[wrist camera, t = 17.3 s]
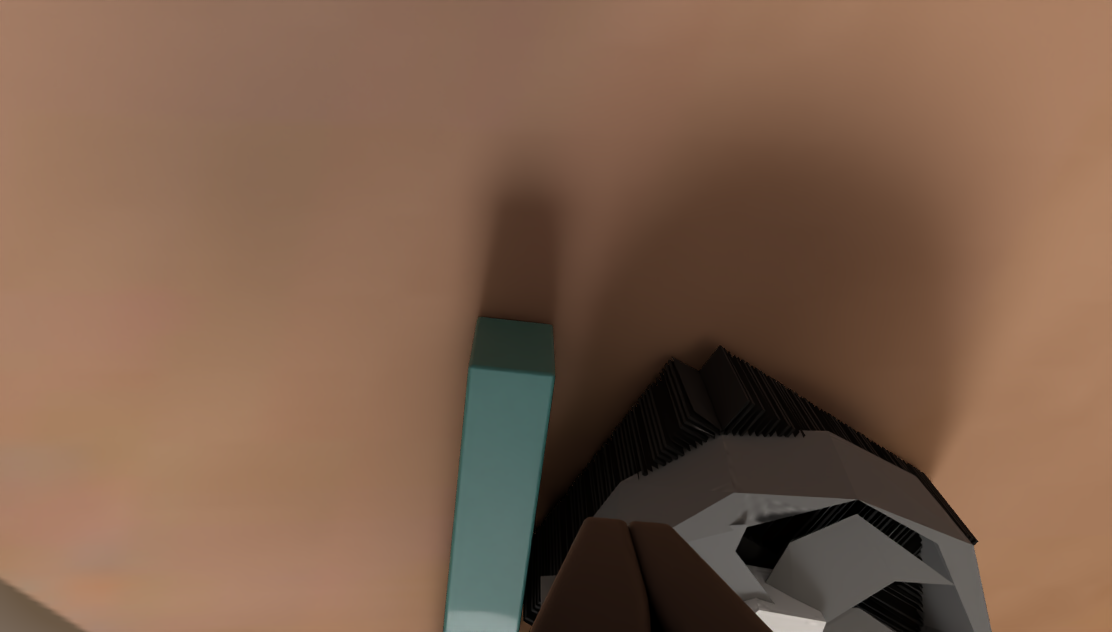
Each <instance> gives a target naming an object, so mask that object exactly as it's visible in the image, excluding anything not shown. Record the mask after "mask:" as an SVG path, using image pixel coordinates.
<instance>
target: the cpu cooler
mask: <svg viewBox="0 0 1112 632" xmlns="http://www.w3.org/2000/svg"><path fill="white" fill-rule="evenodd" d="M672 359H673V361H672V360H670V359H669V360H668V363H669V365H668V364H667V363H666V364H665V368H666V371H665V370H664V369H662V370H663V373H664V375H663V374H661V373H660V372H659V373H660V376H661V380H662V381H661V380H659V379H658V378H656V377H655V378H656V381H657V384H658V386H657V385H655V384H653V383H652V386H653V387H652V386H651V385H649V386H648V389H649V390H648V389H646V390H645V394H646V395H645V394H644V393H643V394H642V395H641V396H642V398H639V399H638V401H639V404H638V403H636V405H637V407H635V406H634V405H633V407H632V410H633V411H631V410H629V415H628V414H626V416H625V417H626V419H624V418H623V419H622V423H621V422H620V423H619V427H616V428H615V429H616V431H613V432H612V433H613V436H612V435H611V440H612V441H611V440H610V439H608V444H609V445H608V444H606V443H604V444H603V447H602V446H601V447H602V452H600V451H598V452H597V455H596V454H595V455H594V461H595V462H593V461H591V463H590V462H589V463H588V468H586V467H585V470H586V471H584V470H583V475H584V476H583V475H581V474H580V475H579V478H576V482H573V486H570V487H569V489H570V491H569V490H568V495H567V494H565V499H564V498H562V502H561V501H559V502H558V505H555V509H554V508H553V509H552V513H551V512H550V513H549V516H547V517H546V521H545V520H544V525H542V524H541V528H540V527H538V528H537V531H536V534H535V535H534V534H533V538H532V545H531V552H530V559H529V566H528V573H527V580H526V587H525V594H524V601H523V621H525V622H526V623H528V624H530V625H531V626H532V625H533V623H534V621H535V619H536V617H537V615H538V613H539V611H540V609H541V607H542V605H543V603H544V601H545V599H546V597H547V595H548V593H549V591H550V588H551V586H552V584H553V582H554V580H555V578H556V576H557V574H558V572H559V570H560V568H561V566H562V564H563V562H564V560H565V558H566V556H567V554H568V552H569V550H570V548H571V546H572V544H573V542H574V540H575V538H576V536H577V534H578V532H579V530H580V527H581V525H582V523H583V522H584V520H585V519H586V518H588V517H600V518H610V519H620V520H623V521H624V522H626V524H627V525H628V524H629V523H630V522H632V521H642V522H653V523H664V524H668V525H670V526H671V527H672V528H673V529H674V530H675V531H676V532H677V533H678V534H679V535H680V536H681V537H682V538H683V539H684V540H685V541H686V542H687V543H688V544H689V545H690V546H691V547H692V548H693V549H694V550H695V551H696V552H697V553H698V554H699V555H700V556H701V558H702V559H703V560H704V561H705V562H706V563H707V564H708V565H709V566H710V567H711V568H712V569H713V570H714V571H715V572H716V573H717V574H718V575H719V576H720V577H721V578H722V579H723V580H724V581H725V582H726V583H727V584H728V585H729V586H730V588H731V589H732V590H733V591H734V592H735V593H736V594H737V595H738V596H739V597H740V598H741V599H742V600H743V601H744V602H745V603H746V604H747V605H748V606H749V607H750V608H751V609H752V610H753V611H754V612H755V613H756V614H757V615H758V616H759V617H760V619H761V620H762V621H763V622H764V623H765V624H766V625H767V626H768V627H769V628H770V629H771V630H772V631H773V632H992V631H991V626H990V622H989V617H988V612H987V607H986V602H985V598H984V593H983V588H982V583H981V579H980V574H979V569H978V564H977V559H976V555H975V550H974V545H975V544H976V543H977V542H978V541H977V539H976V538H975V537H974V536H973V534H972V533H971V532H970V530H969V529H968V528H967V527H966V525H965V524H964V523H963V522H962V520H961V519H960V518H959V517H958V515H957V514H956V513H955V512H954V510H953V509H952V508H951V507H950V505H949V504H948V503H947V502H946V500H945V499H944V498H943V496H942V495H941V494H940V493H939V491H938V490H937V489H936V488H935V486H934V485H933V484H932V483H931V481H930V480H929V479H928V478H927V476H926V475H925V474H924V473H923V472H921V471H920V470H917V469H916V468H915V467H913V466H912V465H909V464H906V463H905V462H904V460H903V461H902V460H901V459H900V458H899V457H897V456H896V455H893V453H891V452H890V453H889V452H888V450H887V451H886V450H885V448H883V447H882V448H881V447H880V446H879V445H876V443H875V442H873V441H871V442H870V441H869V439H868V438H866V437H865V436H864V435H861V434H860V433H859V432H857V433H856V431H855V430H854V429H852V428H851V427H850V426H849V427H848V425H847V424H843V423H842V421H841V423H840V421H839V420H837V419H836V418H835V417H834V416H833V417H832V416H831V414H829V413H828V414H827V413H826V412H825V411H824V412H823V410H822V409H821V410H819V409H818V407H817V406H815V407H814V405H813V404H812V403H810V401H809V402H807V400H806V399H805V398H802V396H801V397H799V396H798V394H797V393H794V392H793V391H792V390H791V389H790V390H789V389H788V388H787V389H786V388H785V386H784V385H783V384H781V385H780V383H779V382H778V381H777V382H776V380H775V379H772V378H771V377H770V376H768V377H766V375H765V373H764V374H763V373H762V371H760V370H758V369H757V368H756V367H755V369H754V368H753V366H750V365H749V363H748V362H746V363H745V361H744V360H743V359H741V361H740V359H739V357H736V356H735V355H734V356H733V357H732V355H731V354H730V352H728V353H727V352H726V350H725V348H724V349H723V347H722V346H719V347H718V348H717V349H716V351H715V352H714V353H713V354H712V356H711V357H710V358H709V360H708V361H707V362H706V363H705V365H704V366H703V367H702V369H701V370H700V371H697V370H696V369H694V368H692V367H690V366H688V365H686V364H684V363H683V362H681V361H679V360H677V359H675V358H673V357H672Z"/></svg>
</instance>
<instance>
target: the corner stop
mask: <svg viewBox="0 0 1112 632" xmlns="http://www.w3.org/2000/svg"><path fill="white" fill-rule="evenodd" d="M554 383H555V357H554V336H553V326H552V325H550V324H542V323H533V322H524V321H515V320H505V319H496V318H487V317H478V319H477V322H476V327H475V333H474V339H473V344H472V350H471V355H470V361H469V367H468V377H467V387H466V397H465V408H464V418H463V428H462V439H461V449H460V460H459V470H458V480H457V491H456V501H455V512H454V522H453V532H452V543H451V553H450V563H449V574H448V584H447V595H446V605H445V615H444V626H443V632H519V629H520V622H521V615H522V608H523V601H524V594H525V587H526V580H527V573H528V566H529V559H530V552H531V545H532V538H533V531H534V524H535V517H536V509H537V502H538V495H539V488H540V481H541V474H542V467H543V460H544V453H545V446H546V439H547V432H548V425H549V418H550V411H551V404H552V397H553V390H554Z"/></svg>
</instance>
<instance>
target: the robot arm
mask: <svg viewBox="0 0 1112 632" xmlns="http://www.w3.org/2000/svg"><path fill="white" fill-rule="evenodd" d="M529 632H773V631H772V630H771V629H770V628H769V627H768V626H767V625H766V624H765V623H764V622H763V621H762V620H761V619H760V617H759V616H758V615H757V614H756V613H755V612H754V611H753V610H752V609H751V608H750V607H749V606H748V605H747V604H746V603H745V602H744V601H743V600H742V599H741V598H740V597H739V596H738V595H737V594H736V593H735V592H734V591H733V590H732V589H731V588H730V586H729V585H728V584H727V583H726V582H725V581H724V580H723V579H722V578H721V577H720V576H719V575H718V574H717V573H716V572H715V571H714V570H713V569H712V568H711V567H710V566H709V565H708V564H707V563H706V562H705V561H704V560H703V559H702V558H701V556H700V555H699V554H698V553H697V552H696V551H695V550H694V549H693V548H692V547H691V546H690V545H689V544H688V543H687V542H686V541H685V540H684V539H683V538H682V537H681V536H680V535H679V534H678V533H677V532H676V531H675V530H674V529H673V528H672V527H671V526H670V525H668V524H664V523H653V522H642V521H632V522H630V523H629V524H628V525H627V524H626V522H624V521H623V520H620V519H610V518H600V517H588V518H586V519H585V520H584V522H583V523H582V525H581V527H580V530H579V532H578V534H577V536H576V538H575V540H574V542H573V544H572V546H571V548H570V550H569V552H568V554H567V556H566V558H565V560H564V562H563V564H562V566H561V568H560V570H559V572H558V574H557V576H556V578H555V580H554V582H553V584H552V586H551V588H550V591H549V593H548V595H547V597H546V599H545V601H544V603H543V605H542V607H541V609H540V611H539V613H538V615H537V617H536V619H535V621H534V623H533V625H532V627H531V629H530V631H529Z"/></svg>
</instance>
